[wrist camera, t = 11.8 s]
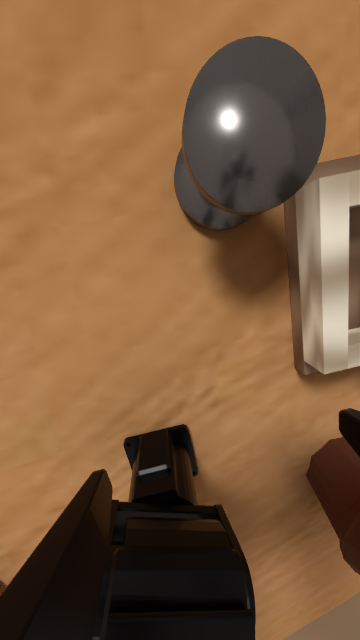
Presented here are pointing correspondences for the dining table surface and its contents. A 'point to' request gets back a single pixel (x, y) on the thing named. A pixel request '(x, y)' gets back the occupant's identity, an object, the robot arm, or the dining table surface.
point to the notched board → (325, 267)
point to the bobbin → (248, 132)
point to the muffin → (339, 493)
